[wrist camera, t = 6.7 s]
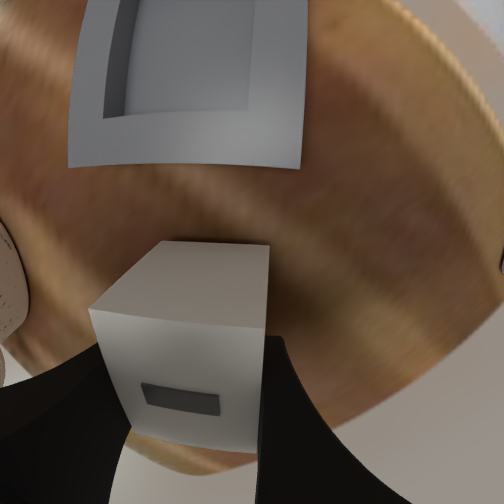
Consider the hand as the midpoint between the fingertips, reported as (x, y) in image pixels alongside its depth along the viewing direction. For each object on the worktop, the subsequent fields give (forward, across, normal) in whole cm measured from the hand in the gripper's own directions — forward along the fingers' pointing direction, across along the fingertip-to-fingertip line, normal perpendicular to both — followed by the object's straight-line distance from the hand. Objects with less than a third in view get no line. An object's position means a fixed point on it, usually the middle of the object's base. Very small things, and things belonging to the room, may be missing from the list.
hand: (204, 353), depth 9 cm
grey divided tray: (+4, +1, -14) cm, 14 cm away
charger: (+2, 0, -1) cm, 2 cm away
